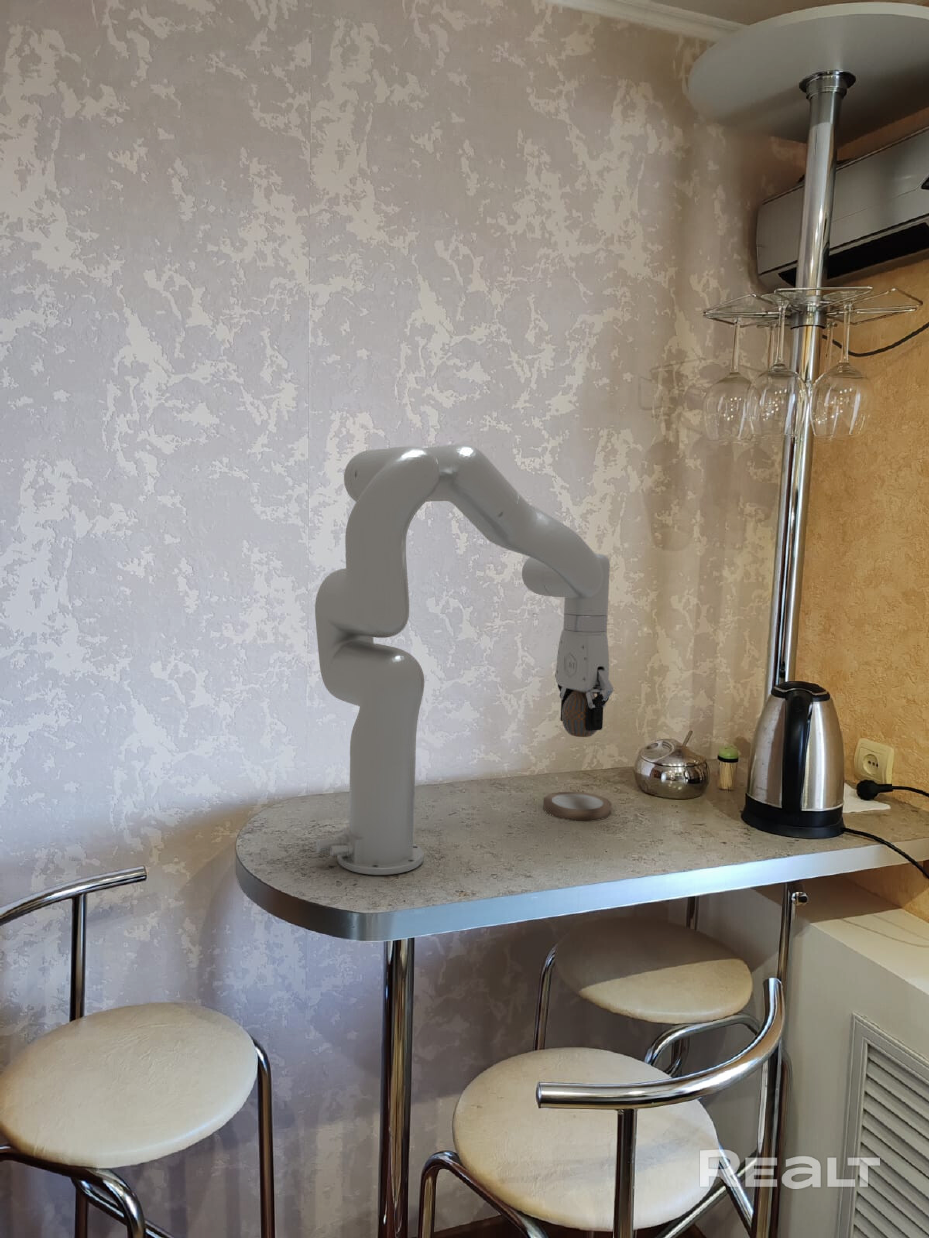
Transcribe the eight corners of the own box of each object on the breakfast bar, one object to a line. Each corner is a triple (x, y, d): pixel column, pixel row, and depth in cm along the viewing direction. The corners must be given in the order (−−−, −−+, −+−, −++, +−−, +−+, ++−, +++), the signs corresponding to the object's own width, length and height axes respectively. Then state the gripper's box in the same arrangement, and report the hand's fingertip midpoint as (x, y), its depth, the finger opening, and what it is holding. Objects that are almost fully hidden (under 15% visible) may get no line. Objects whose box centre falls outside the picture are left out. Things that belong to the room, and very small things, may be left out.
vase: (606, 733, 157) (609, 685, 156) (590, 741, 151) (592, 690, 150) (571, 728, 161) (573, 680, 160) (554, 735, 155) (556, 685, 154)
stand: (567, 824, 149) (568, 815, 149) (530, 804, 160) (530, 795, 160) (625, 815, 155) (625, 807, 155) (585, 796, 165) (585, 788, 165)
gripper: (540, 619, 160) (536, 717, 162) (597, 630, 145) (592, 738, 147) (574, 619, 164) (570, 714, 165) (633, 629, 148) (628, 734, 150)
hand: (581, 724), depth 156 cm, fingers closed on vase, 6 cm apart
